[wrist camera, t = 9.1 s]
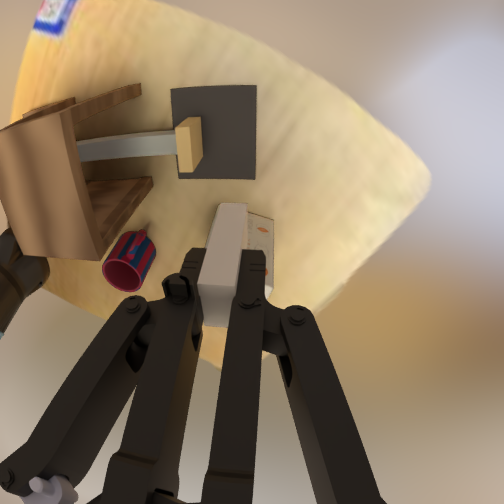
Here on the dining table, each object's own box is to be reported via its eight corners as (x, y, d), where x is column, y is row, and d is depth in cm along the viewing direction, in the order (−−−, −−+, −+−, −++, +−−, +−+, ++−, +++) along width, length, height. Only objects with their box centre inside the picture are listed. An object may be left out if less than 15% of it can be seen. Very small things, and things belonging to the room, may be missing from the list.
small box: (208, 238, 43) (188, 305, 33) (218, 202, 39) (198, 266, 29) (260, 253, 44) (255, 322, 34) (275, 219, 40) (274, 287, 30)
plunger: (71, 175, 37) (46, 196, 31) (59, 120, 31) (30, 135, 26) (205, 168, 36) (193, 190, 30) (202, 98, 30) (186, 108, 25)
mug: (113, 248, 46) (96, 276, 40) (136, 209, 40) (118, 236, 35) (145, 269, 48) (132, 298, 43) (173, 234, 43) (159, 263, 38)
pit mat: (179, 177, 37) (178, 178, 37) (171, 88, 29) (170, 89, 29) (255, 178, 36) (255, 179, 36) (256, 85, 29) (256, 85, 29)
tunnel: (50, 192, 39) (-9, 251, 26) (30, 110, 30) (-46, 153, 17) (153, 186, 38) (100, 261, 25) (140, 83, 29) (59, 113, 16)
